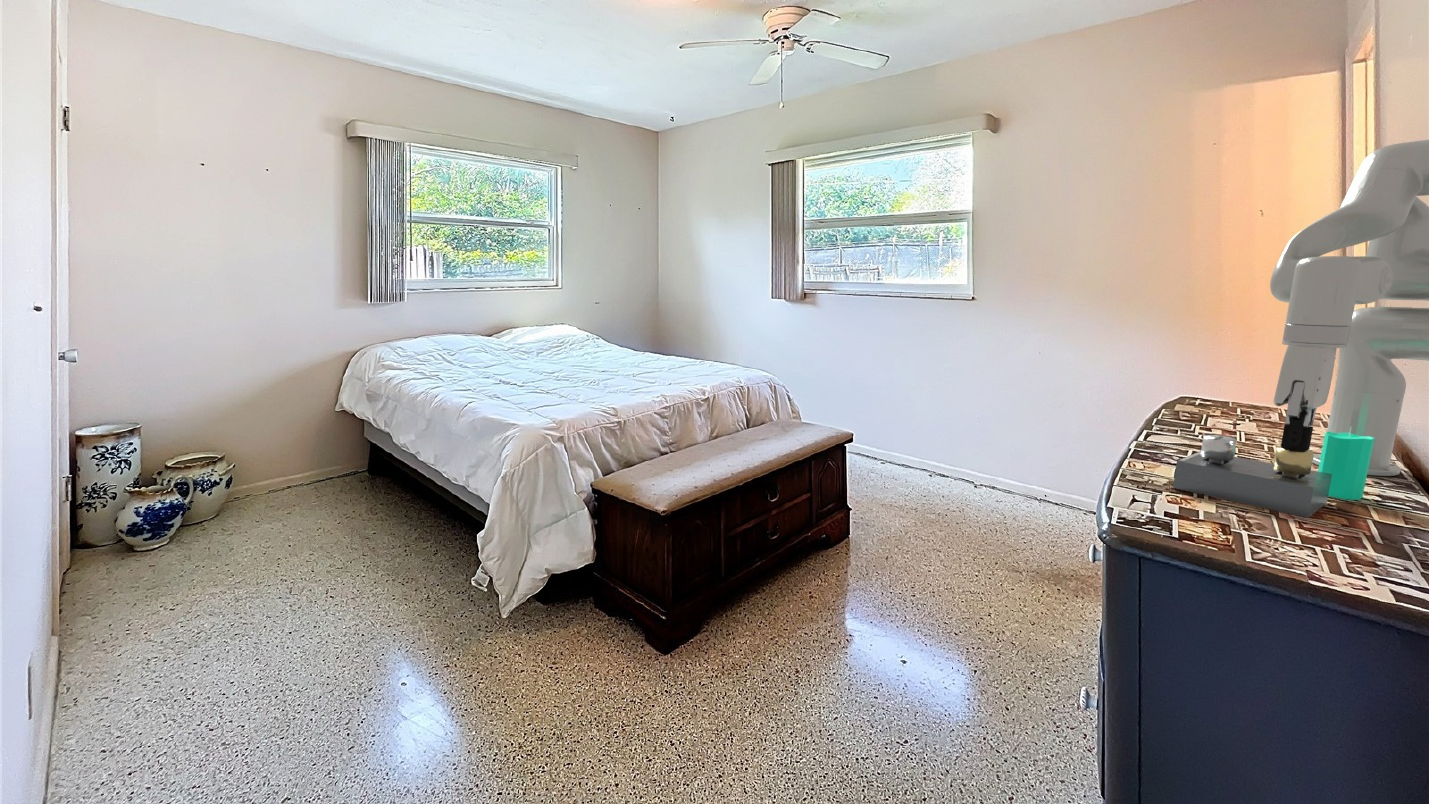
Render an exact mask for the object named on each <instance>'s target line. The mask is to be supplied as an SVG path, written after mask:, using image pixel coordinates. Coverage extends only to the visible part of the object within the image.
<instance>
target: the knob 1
mask: <svg viewBox="0 0 1429 804" xmlns="http://www.w3.org/2000/svg"><path fill="white" fill-rule="evenodd" d="M1201 443H1202V444H1201V449H1200V451H1201V456H1202V457H1205V458H1209V461H1210V462H1215V463H1221V464H1223V462H1224V461H1232V460H1234V457H1235V453H1236V447H1237V446H1236V445H1237V439H1236V438H1234V437H1230V436H1226V435H1219V434H1218V435H1217V434H1205V435H1203V437H1202V442H1201Z"/></svg>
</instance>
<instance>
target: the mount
mask: <svg viewBox="0 0 1429 804" xmlns="http://www.w3.org/2000/svg"><path fill="white" fill-rule="evenodd" d="M1273 463H1274V462H1273ZM1273 463H1272V462H1267V461H1262V460H1261V461H1260V460H1255V459H1250V458H1249V459H1248V458H1245V457H1244V458H1243V457H1239V456H1234V460H1232V461H1224V462H1223V464H1221V463H1215V462H1210V461H1209V458H1205V457H1202V456H1201V450H1200V451H1197V452H1195V453H1192V454H1191V455H1188V456H1186V457H1183V458H1180V459H1179V460H1176V463H1175V464H1176V465H1175V473H1174V478H1173V485H1172V486H1173V487H1172V489H1175V488H1176V489H1175V490H1179V489H1180V490H1179V491H1184V490H1185V492H1188V491H1190V492H1189V493H1193V492H1194V494H1196V495H1197V494H1198V495H1202V494H1204V495H1203V496H1206V495H1207V497H1211V498H1216V499H1220V500H1225V501H1229V502H1234V503H1239V504H1243V505H1247V506H1252V507H1256V508H1262V509H1265V510H1270V511H1274V512H1279V513H1282V514H1287V515H1292V516H1296V517H1302V518H1304V519H1305V518H1306V519H1309V518H1310V517H1311V516H1312V515H1314V514H1315V513H1316V512H1318V511H1319V510H1320V509H1321V508H1322V507H1324V506H1325V505H1326V504H1327V503H1328V499H1329V496H1328V494H1329V489H1330V484H1331V478H1332V474H1329V473H1324V472H1318V471H1317V470H1312V469H1311V472H1310V474H1307V475H1300V474H1299V476H1298V478H1296V477H1290V476H1285V475H1282V472H1281V471H1277V470H1275V469H1273Z"/></svg>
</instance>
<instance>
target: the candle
mask: <svg viewBox="0 0 1429 804" xmlns="http://www.w3.org/2000/svg"><path fill="white" fill-rule="evenodd" d="M1351 428H1352V427H1350V432H1349V433H1333V432H1327V431H1326V432H1325V433H1324V437H1323V443H1322V447H1321V448H1322V449H1321V452H1320V454H1321V458H1320V463H1319V465H1318V472H1324V473H1329V474H1332V478H1331V484H1330V489H1329V494H1328V497H1331V498H1336V499H1341V500H1351V501H1354V500H1356V501H1357V500H1359V501H1360V500H1361V498H1362V499H1363V497H1364V492H1365V487H1366V482H1367V477H1368V475H1367V473H1368V468H1369V463H1370V458H1371V453H1372V448H1373V443H1374V438H1373V437H1369V436H1357V435H1354V434H1351Z"/></svg>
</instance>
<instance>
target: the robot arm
mask: <svg viewBox="0 0 1429 804" xmlns="http://www.w3.org/2000/svg"><path fill="white" fill-rule="evenodd" d="M1419 196H1420V197H1421V196H1422V197H1423V196H1424V197H1425V196H1429V139H1424V140H1423V139H1421V140H1415V141H1407V142H1399V143H1393V144H1389V145H1386V146H1382V147H1379V148H1378V149H1375V150H1373V151H1372V152H1371V153H1369V154H1368V155H1367V156H1366V157H1365V158H1363V160H1362V162H1361V164H1360V165H1359V167H1358V169H1357V171H1356V173H1355V175H1354V177H1353V179H1352V181H1351V183H1350V186H1349V188H1348V190H1347V192H1346V194H1345V196H1344V198H1343V200H1342V202H1341V204H1340V207H1339V208H1338V209H1336V210H1334V211H1332V212H1330V213H1328V214H1326V215H1324V216H1322V217H1321V218H1319V219H1317V220H1315V221H1314V222H1313V223H1310V225H1308V226H1306V227H1304V228H1303V229H1301V230H1299V232H1297V233H1296V234H1295V235H1294V236H1293V237H1291V239H1290V240H1289V241H1288V243H1286V245H1285V246H1284V249H1283V250H1282V252H1281V255H1280V256H1279V258H1278V260H1277V262H1276V264H1275V267H1274V269H1273V271H1272V274H1271V278H1270V281H1269V283H1270V284H1269V288H1270V292H1271V295H1272V296H1273V297H1274V298H1275V299H1276V300H1277V301H1280V302H1283V303H1288V306H1287V313H1286V320H1285V326H1284V329H1283V330H1284V331H1283V336H1282V342H1281V345H1286V346H1287V348H1286V350H1285V353H1284V356H1283V360H1282V364H1281V368H1280V371H1279V376H1278V381H1277V384H1276V389H1275V391H1274V392H1275V393H1274V397H1273V404H1274V405H1275V406H1276V407H1282V406H1284V405H1287V408H1286V415H1285V424H1284V426H1283V431H1282V438H1281V442H1280V443H1281V444H1280V446H1281V448H1283V449H1289V450H1295V451H1301V452H1305V451H1307V450H1310V447H1311V441H1312V436H1313V432H1314V426H1313V425H1314V422H1315V417H1316V413H1317V410H1318V409H1317V408H1319V407H1322V406H1324V405H1325V404H1326V403H1327V400H1328V397H1329V394H1330V389H1331V385H1332V380H1333V376H1334V375H1333V374H1334V368H1335V364H1336V363H1335V361H1336V356H1337V349H1338V348H1339V355H1338V356H1339V361H1338V367H1337V368H1338V369H1337V373H1336V374H1337V375H1336V381H1335V384H1334V385H1335V386H1334V393H1333V397H1332V402H1331V408H1330V414H1329V418H1328V423H1327V429H1326V432H1333V433H1349V432H1350V427H1352V428H1351V434H1354V435H1357V436H1369V437H1373V438H1374V443H1373V448H1372V453H1371V458H1370V463H1369V468H1368V473H1367V476H1374V477H1375V476H1377V477H1394V476H1398V475H1400V474H1401V467H1400V466H1398V465H1396V464H1393V463H1391V459H1392V455H1393V449H1394V446H1395V441H1396V435H1397V430H1398V427H1399V421H1400V416H1401V412H1402V411H1401V410H1402V407H1403V402H1404V397H1405V394H1406V388H1407V381H1406V378H1405V376H1404V374H1403V373H1402V371H1401V370H1400V369H1399V368H1398V367H1397V366H1396V365H1395V363H1393V361H1392V360H1393V359H1394V360H1413V361H1414V360H1415V361H1426V362H1428V361H1429V307H1428V308H1427V307H1412V306H1411V307H1409V306H1408V307H1407V306H1369V307H1362V308H1358V309H1355V305H1367V304H1372V303H1375V302H1377V301H1378V300H1388V301H1389V300H1390V301H1393V300H1394V301H1429V205H1427V204H1426V203H1425V202H1424V201H1423V200H1422V199H1420V198H1419ZM1366 242H1368V246H1367V250H1366V254H1365V256H1364V255H1363V256H1347V255H1343V256H1342V255H1340V256H1339V255H1332V256H1331V255H1330V256H1323V255H1325V254H1329V253H1331V252H1334V251H1338V250H1341V249H1345V248H1350V247H1353V246H1357V245H1360V244H1363V243H1366ZM1320 458H1321V453H1314V456H1313V461H1312V464H1314V465H1317V466H1319V463H1320Z"/></svg>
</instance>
